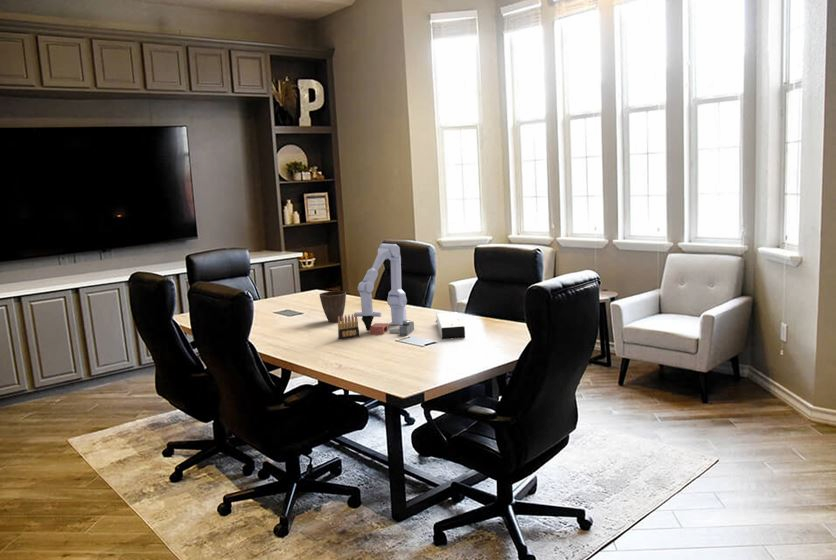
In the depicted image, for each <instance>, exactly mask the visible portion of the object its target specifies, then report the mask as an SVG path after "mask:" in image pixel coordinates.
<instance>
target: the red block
mask: <svg viewBox="0 0 836 560" xmlns="http://www.w3.org/2000/svg"><path fill="white" fill-rule="evenodd" d="M388 331H389V324H388V323H383V322H382V323H381V322H379V323H377V322H375V323H373V324H371V326H370V331H369V334H370V335H385V332H388Z"/></svg>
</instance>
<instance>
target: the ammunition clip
mask: <svg viewBox="0 0 836 560" xmlns="http://www.w3.org/2000/svg"><path fill="white" fill-rule="evenodd" d="M337 335H338V336H337V337H338V340H347V339H353V338H360V336H361V335H360V329H359V321H358V317H357V315H356V314H355V317H354V313H352V314H351V315H350V314H348V316H347V314H345V315H343V316H342V317H341V321H340V317H339V316H338V322H337Z"/></svg>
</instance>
